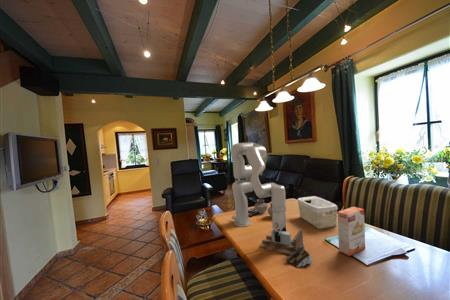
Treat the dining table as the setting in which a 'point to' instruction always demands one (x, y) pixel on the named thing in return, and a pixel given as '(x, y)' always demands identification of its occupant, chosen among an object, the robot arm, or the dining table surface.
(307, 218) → the storage basket
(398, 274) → the dining table surface
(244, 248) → the dining table surface
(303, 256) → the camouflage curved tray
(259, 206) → the pottery
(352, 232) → the cracker box
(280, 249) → the track base
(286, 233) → the door slab
